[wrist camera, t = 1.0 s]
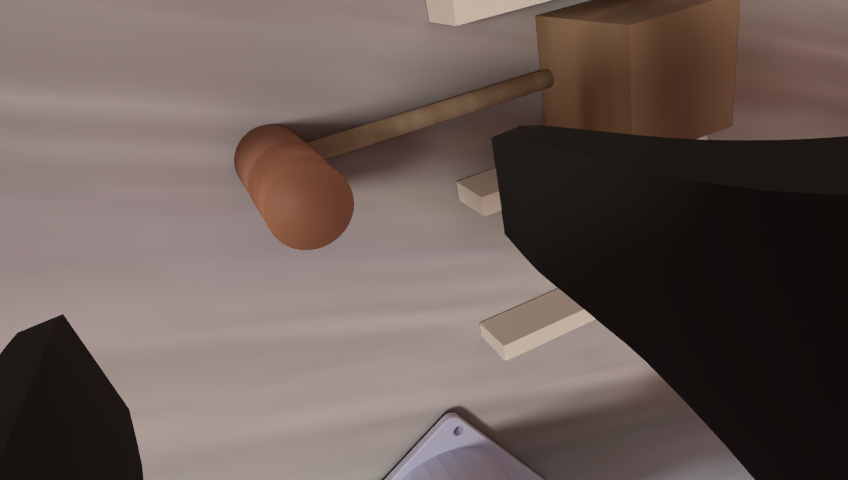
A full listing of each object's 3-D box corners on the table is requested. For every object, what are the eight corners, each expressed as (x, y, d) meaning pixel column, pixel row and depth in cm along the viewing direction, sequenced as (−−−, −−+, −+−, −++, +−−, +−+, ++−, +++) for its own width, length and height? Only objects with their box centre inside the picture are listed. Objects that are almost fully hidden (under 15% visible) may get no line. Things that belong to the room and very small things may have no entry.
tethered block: (631, -11, 24) (740, -8, 20) (633, 101, 26) (732, 125, 22) (213, 104, 19) (240, 141, 15) (257, 231, 21) (291, 294, 17)
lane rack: (676, -287, 21) (725, -310, 19) (670, 253, 30) (702, 269, 29) (383, -254, 17) (411, -279, 16) (482, 337, 27) (505, 361, 26)
